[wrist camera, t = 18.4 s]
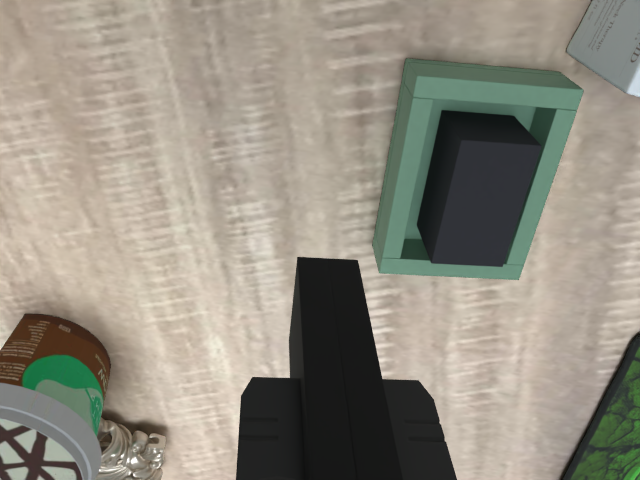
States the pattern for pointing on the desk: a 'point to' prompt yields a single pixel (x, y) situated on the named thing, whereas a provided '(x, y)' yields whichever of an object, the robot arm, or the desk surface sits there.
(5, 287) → the desk surface
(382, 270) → the green open tray
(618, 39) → the product box
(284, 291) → the desk surface
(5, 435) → the food container
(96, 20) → the desk surface
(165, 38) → the desk surface
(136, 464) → the ornament
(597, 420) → the mouse mat
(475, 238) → the black rectangular block
